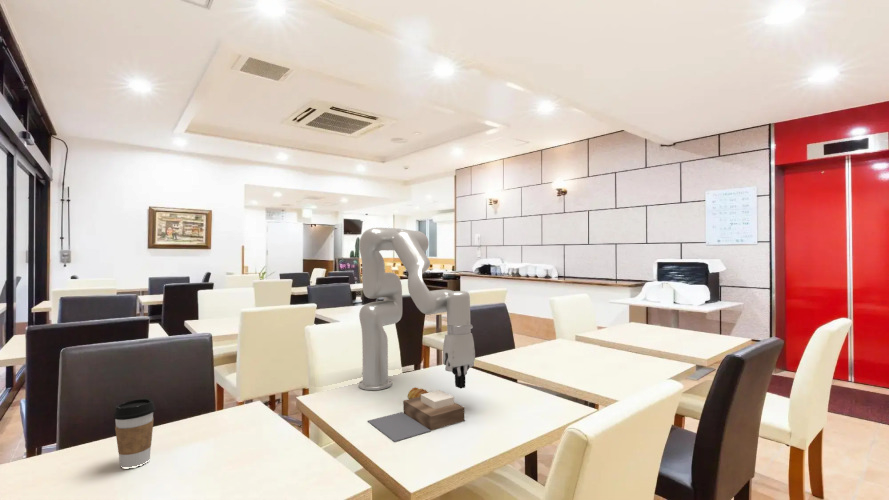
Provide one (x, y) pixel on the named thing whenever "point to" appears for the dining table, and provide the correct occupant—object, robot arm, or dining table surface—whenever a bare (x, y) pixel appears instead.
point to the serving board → (433, 413)
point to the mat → (398, 426)
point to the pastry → (416, 393)
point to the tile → (437, 399)
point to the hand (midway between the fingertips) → (460, 387)
